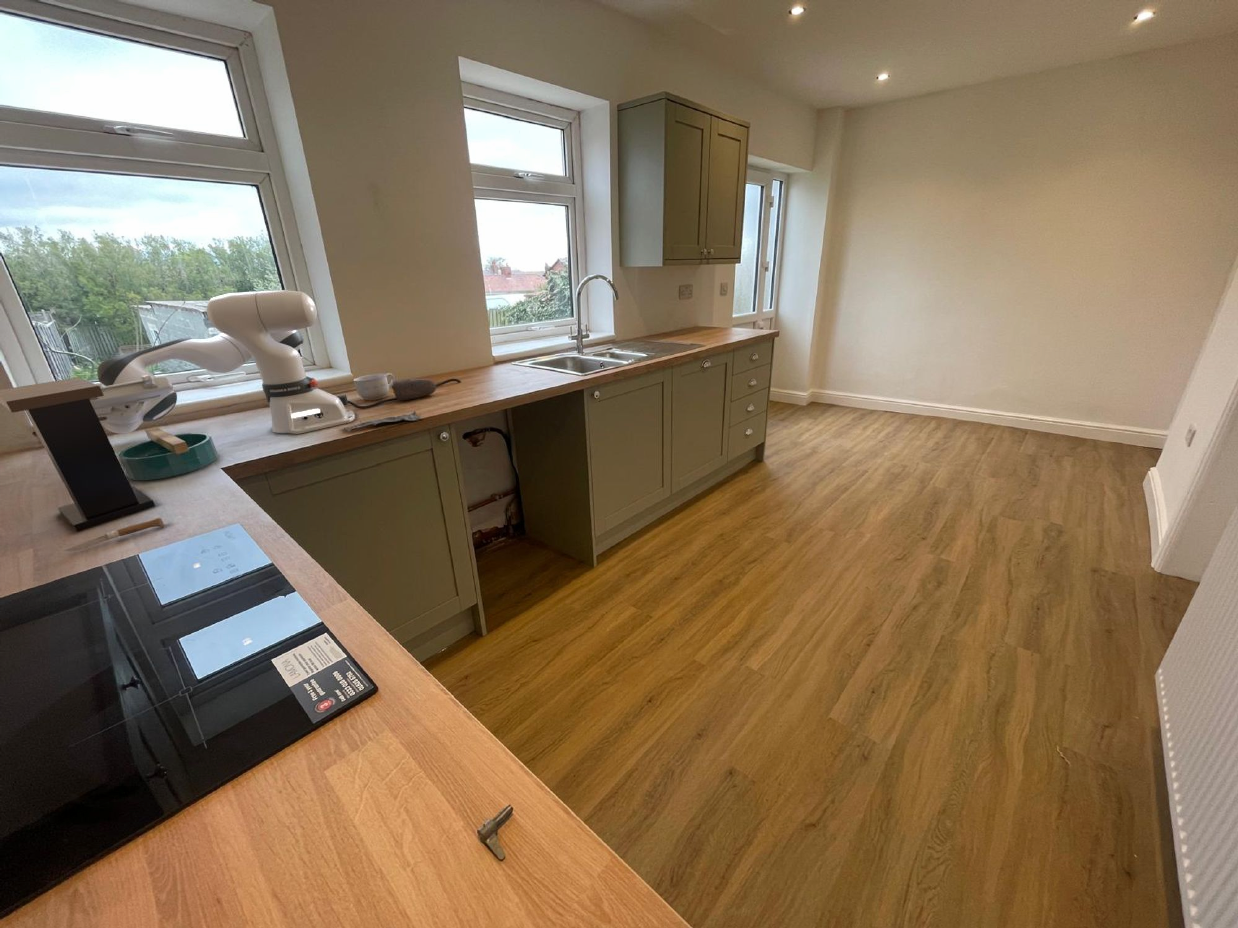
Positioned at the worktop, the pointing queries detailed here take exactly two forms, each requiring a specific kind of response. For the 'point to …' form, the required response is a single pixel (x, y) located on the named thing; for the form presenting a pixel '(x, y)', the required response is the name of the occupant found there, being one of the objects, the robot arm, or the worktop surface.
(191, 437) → the bowl
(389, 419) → the driftwood
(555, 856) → the worktop surface
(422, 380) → the grey rounded oblong body
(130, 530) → the folding knife
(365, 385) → the teacup
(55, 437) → the black slanted stand
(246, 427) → the worktop surface
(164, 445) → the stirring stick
